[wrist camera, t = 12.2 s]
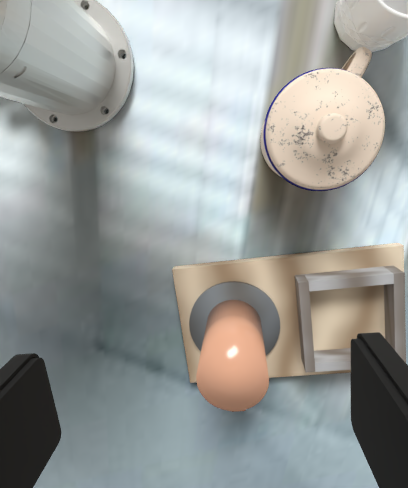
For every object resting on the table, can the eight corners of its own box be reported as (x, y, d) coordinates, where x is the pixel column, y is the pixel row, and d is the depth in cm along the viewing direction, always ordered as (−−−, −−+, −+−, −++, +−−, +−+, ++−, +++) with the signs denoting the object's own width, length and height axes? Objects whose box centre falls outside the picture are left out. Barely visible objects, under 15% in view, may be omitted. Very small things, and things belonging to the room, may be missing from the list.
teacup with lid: (317, 200, 37) (353, 217, 25) (241, 157, 37) (242, 155, 25) (386, 90, 34) (461, 54, 23) (304, 43, 34) (337, -17, 22)
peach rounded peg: (203, 302, 39) (191, 349, 29) (258, 297, 38) (265, 344, 28) (212, 364, 40) (204, 428, 31) (265, 360, 40) (274, 425, 30)
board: (191, 376, 43) (187, 396, 39) (174, 266, 40) (167, 276, 36) (400, 362, 40) (416, 382, 36) (398, 242, 37) (415, 251, 33)
